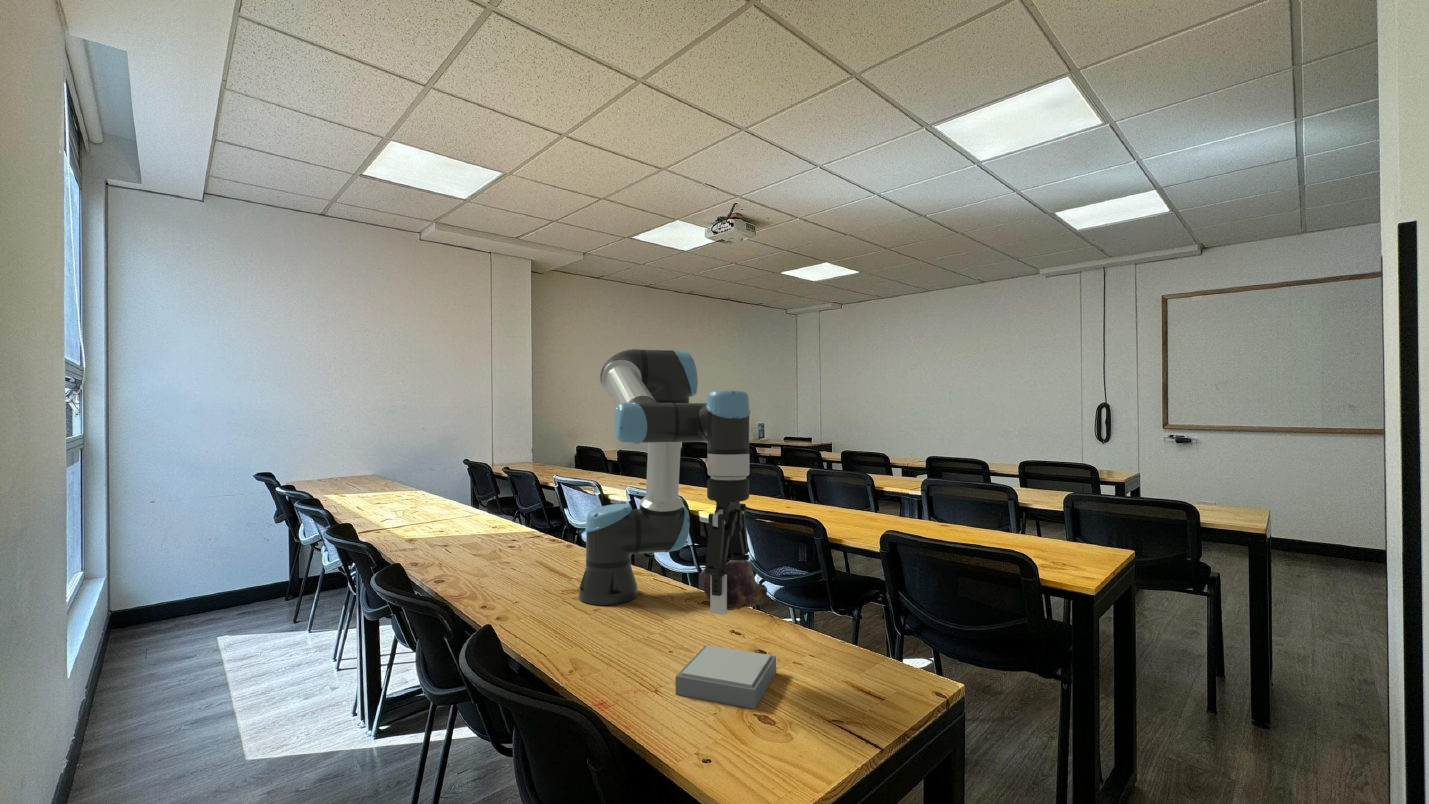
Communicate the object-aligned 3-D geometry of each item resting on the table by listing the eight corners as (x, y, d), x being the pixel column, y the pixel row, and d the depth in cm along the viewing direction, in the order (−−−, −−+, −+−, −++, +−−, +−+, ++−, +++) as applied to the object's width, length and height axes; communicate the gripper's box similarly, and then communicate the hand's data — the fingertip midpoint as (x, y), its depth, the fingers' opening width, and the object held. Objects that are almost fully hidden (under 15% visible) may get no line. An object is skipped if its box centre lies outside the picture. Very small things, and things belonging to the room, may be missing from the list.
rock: (726, 601, 109) (687, 613, 101) (722, 555, 110) (683, 563, 103) (774, 605, 101) (736, 618, 94) (769, 555, 102) (731, 564, 95)
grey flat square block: (705, 661, 111) (705, 643, 111) (776, 672, 106) (776, 653, 106) (675, 694, 97) (675, 674, 97) (754, 709, 93) (754, 687, 93)
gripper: (728, 471, 114) (728, 585, 113) (684, 483, 93) (684, 622, 93) (764, 472, 111) (764, 589, 111) (728, 485, 91) (728, 628, 90)
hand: (728, 604), depth 102 cm, fingers closed on rock, 9 cm apart
